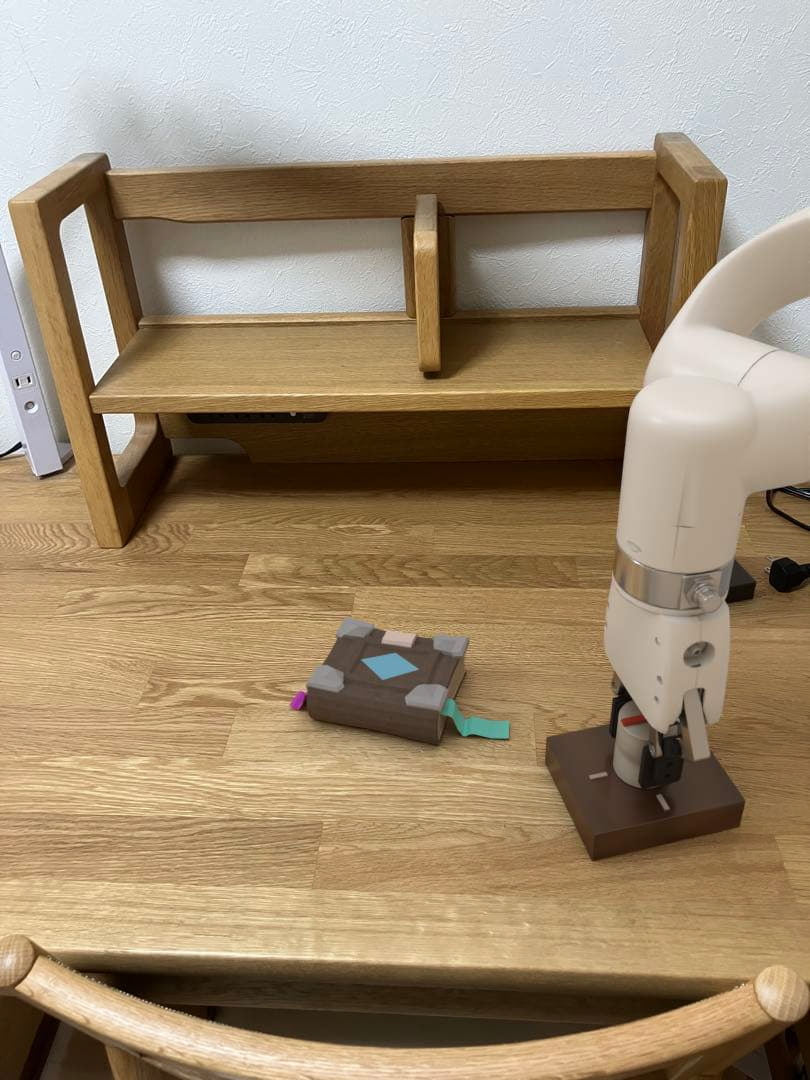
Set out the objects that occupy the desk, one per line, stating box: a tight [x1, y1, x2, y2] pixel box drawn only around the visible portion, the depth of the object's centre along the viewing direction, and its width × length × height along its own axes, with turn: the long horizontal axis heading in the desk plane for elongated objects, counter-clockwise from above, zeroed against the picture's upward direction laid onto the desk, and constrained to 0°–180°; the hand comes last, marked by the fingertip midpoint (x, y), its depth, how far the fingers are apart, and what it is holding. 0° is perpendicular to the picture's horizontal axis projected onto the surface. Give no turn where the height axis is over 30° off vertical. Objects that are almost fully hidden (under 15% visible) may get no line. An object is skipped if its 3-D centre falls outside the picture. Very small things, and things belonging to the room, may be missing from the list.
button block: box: [725, 558, 757, 605], centre depth 93 cm, size 10×8×4 cm
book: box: [288, 616, 510, 746], centre depth 81 cm, size 20×12×5 cm, turn 72°
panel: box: [544, 723, 747, 862], centre depth 71 cm, size 12×10×3 cm
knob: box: [613, 700, 677, 789], centre depth 68 cm, size 4×4×6 cm
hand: (643, 755), depth 69 cm, fingers closed on knob, 4 cm apart
